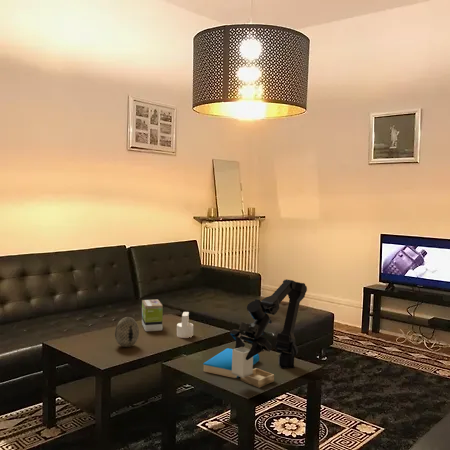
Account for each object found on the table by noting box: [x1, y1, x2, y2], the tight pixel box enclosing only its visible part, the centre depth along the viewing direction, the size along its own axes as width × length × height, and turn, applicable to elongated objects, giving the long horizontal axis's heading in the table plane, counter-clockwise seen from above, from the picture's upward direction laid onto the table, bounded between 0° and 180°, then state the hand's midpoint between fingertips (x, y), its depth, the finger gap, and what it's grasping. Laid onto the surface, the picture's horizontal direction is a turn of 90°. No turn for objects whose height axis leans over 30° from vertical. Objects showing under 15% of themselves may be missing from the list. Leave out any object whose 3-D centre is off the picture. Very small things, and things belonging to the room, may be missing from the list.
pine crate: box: [240, 367, 275, 388], centre depth 208 cm, size 10×10×3 cm
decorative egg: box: [114, 316, 140, 348], centre depth 246 cm, size 12×12×15 cm
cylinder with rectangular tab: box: [176, 311, 194, 339], centre depth 268 cm, size 9×9×12 cm
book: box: [202, 347, 260, 379], centre depth 224 cm, size 17×4×25 cm
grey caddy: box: [232, 346, 254, 378], centre depth 200 cm, size 6×6×10 cm
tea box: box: [141, 299, 164, 332], centre depth 282 cm, size 15×10×15 cm
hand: (240, 357), depth 199 cm, fingers closed on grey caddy, 6 cm apart
